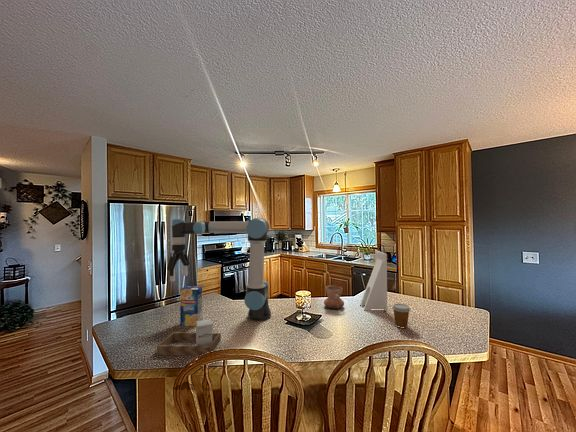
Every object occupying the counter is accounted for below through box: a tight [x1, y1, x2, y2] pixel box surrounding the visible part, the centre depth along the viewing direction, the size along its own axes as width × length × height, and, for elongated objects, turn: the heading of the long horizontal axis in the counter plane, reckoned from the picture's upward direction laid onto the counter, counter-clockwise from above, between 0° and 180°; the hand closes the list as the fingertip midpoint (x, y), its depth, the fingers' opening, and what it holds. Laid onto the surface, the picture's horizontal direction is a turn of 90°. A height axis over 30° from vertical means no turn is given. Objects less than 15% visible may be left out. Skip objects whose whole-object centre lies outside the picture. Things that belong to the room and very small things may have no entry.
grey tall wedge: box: [359, 249, 388, 312], centre depth 183 cm, size 20×14×40 cm
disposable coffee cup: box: [392, 303, 411, 327], centre depth 151 cm, size 10×10×12 cm
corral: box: [156, 331, 222, 357], centre depth 128 cm, size 26×15×4 cm, turn 87°
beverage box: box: [179, 285, 203, 327], centre depth 157 cm, size 7×11×22 cm, turn 86°
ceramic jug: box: [323, 285, 345, 310], centre depth 185 cm, size 18×14×14 cm
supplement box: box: [195, 318, 213, 346], centre depth 128 cm, size 7×7×13 cm
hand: (179, 278), depth 156 cm, fingers open, 13 cm apart
